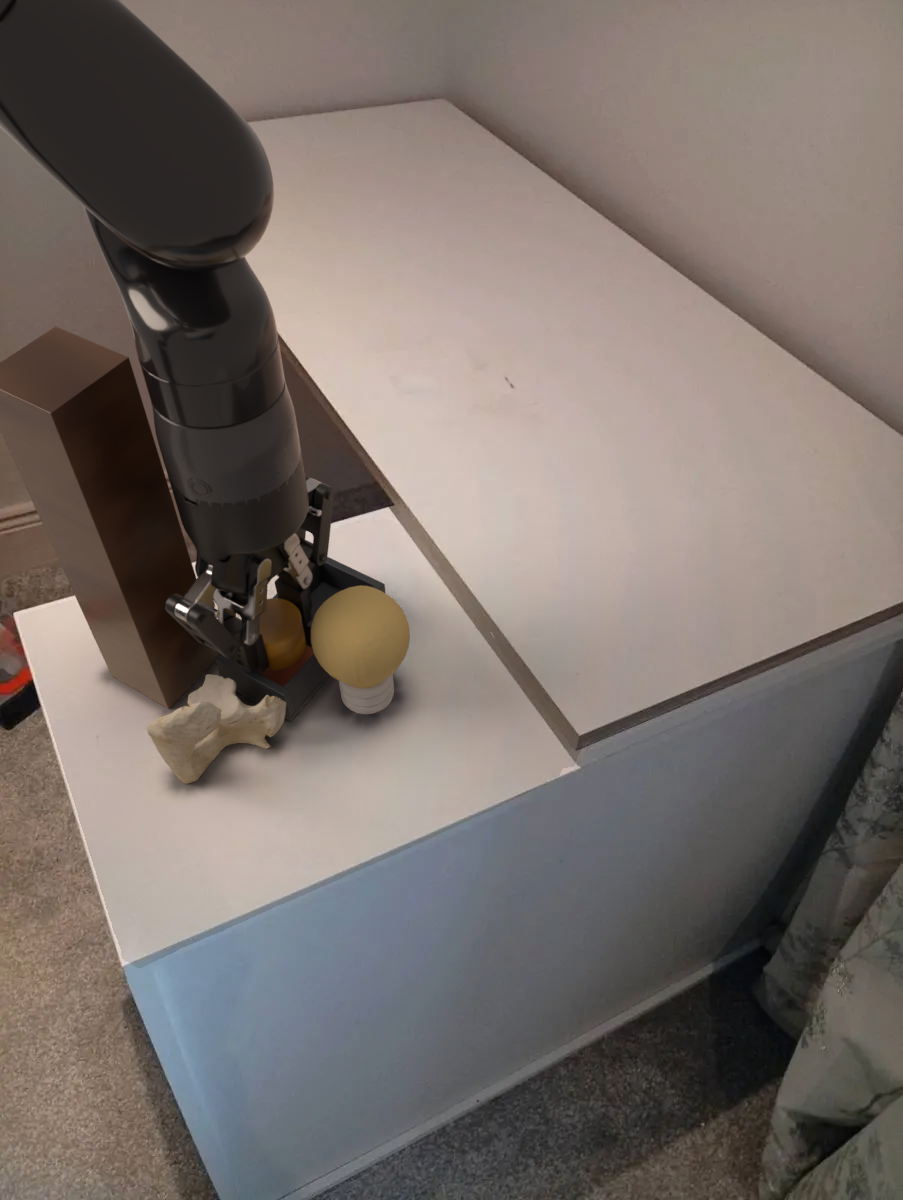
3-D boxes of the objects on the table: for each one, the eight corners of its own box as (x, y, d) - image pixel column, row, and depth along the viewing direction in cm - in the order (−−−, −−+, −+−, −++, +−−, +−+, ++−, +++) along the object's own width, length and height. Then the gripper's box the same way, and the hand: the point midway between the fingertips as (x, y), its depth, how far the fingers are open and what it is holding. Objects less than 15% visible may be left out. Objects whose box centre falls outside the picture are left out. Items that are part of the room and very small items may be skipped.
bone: (270, 657, 69) (262, 638, 60) (301, 743, 69) (298, 737, 59) (151, 699, 68) (123, 687, 58) (181, 787, 67) (158, 790, 57)
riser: (168, 709, 68) (50, 413, 49) (111, 676, 70) (-25, 378, 51) (220, 656, 71) (129, 357, 52) (164, 625, 73) (55, 325, 54)
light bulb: (360, 751, 66) (347, 662, 58) (304, 693, 69) (285, 601, 62) (431, 700, 69) (428, 608, 61) (375, 646, 72) (365, 552, 64)
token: (282, 679, 66) (276, 652, 64) (236, 655, 68) (229, 627, 66) (317, 640, 69) (313, 612, 66) (273, 617, 70) (266, 589, 68)
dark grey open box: (291, 722, 68) (285, 696, 65) (222, 683, 70) (213, 657, 67) (387, 610, 74) (385, 583, 72) (321, 578, 76) (317, 551, 74)
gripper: (261, 366, 60) (296, 557, 73) (91, 503, 52) (164, 690, 65) (361, 406, 57) (379, 597, 70) (198, 557, 49) (252, 741, 62)
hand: (275, 641), depth 68 cm, fingers open, 4 cm apart
